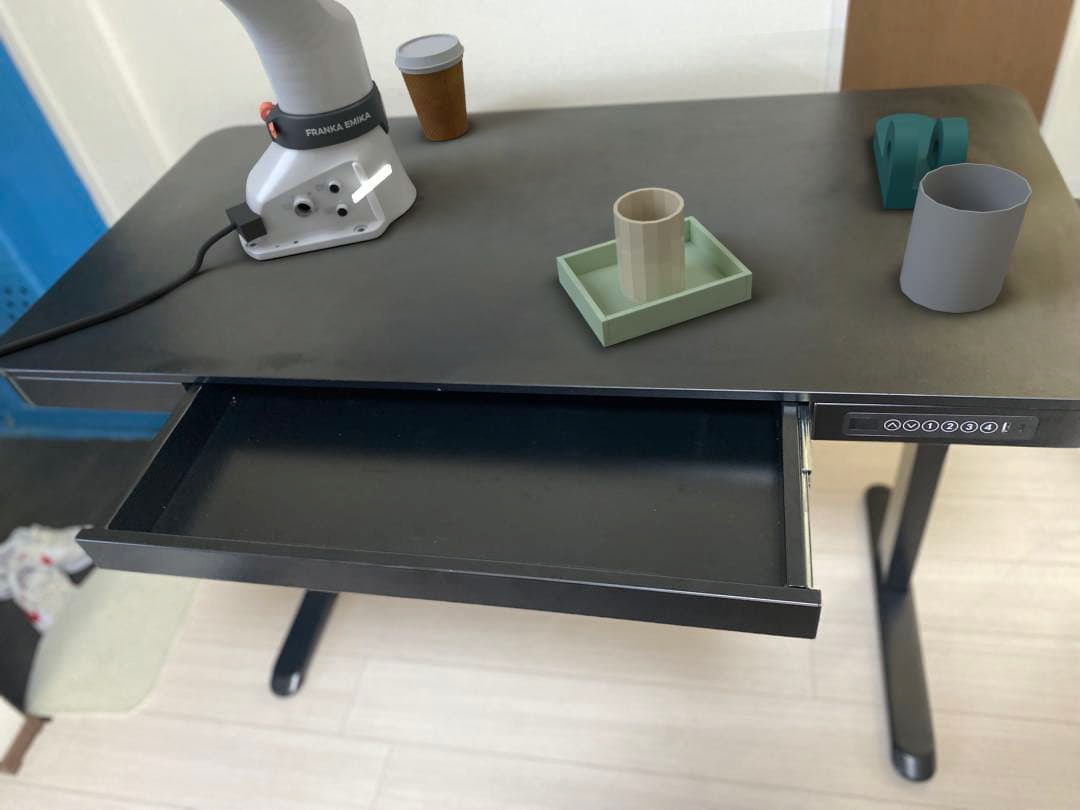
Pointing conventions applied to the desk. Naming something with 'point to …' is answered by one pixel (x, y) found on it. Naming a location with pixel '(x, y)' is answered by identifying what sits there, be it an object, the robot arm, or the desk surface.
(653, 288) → the tumbler
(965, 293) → the cup
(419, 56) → the disposable coffee cup
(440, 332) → the desk surface
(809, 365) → the desk surface
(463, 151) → the desk surface
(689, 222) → the tray
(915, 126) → the bracket
